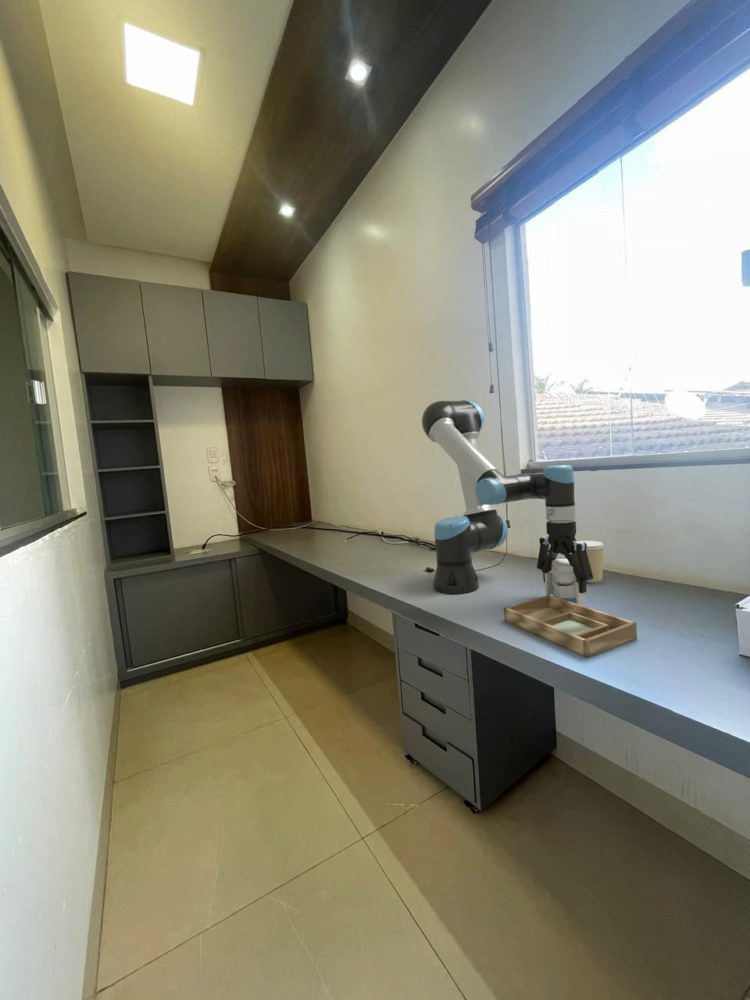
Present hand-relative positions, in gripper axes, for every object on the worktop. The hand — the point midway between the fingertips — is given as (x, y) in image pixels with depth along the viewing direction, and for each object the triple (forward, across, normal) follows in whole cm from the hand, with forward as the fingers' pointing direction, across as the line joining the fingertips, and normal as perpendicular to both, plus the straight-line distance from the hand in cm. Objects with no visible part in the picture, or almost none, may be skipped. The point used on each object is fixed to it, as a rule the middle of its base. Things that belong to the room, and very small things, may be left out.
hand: (564, 598), depth 112 cm
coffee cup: (+1, -10, +23) cm, 25 cm away
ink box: (+1, 0, 0) cm, 1 cm away
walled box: (+1, +12, -14) cm, 18 cm away
